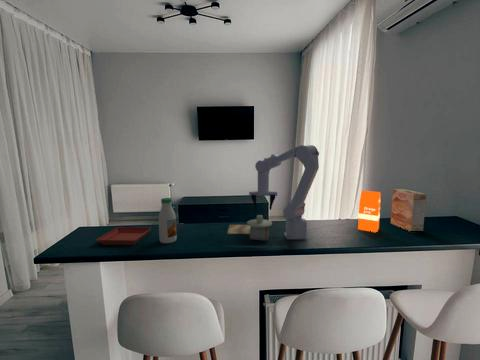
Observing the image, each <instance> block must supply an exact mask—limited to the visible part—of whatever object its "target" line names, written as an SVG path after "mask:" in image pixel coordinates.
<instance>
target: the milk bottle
mask: <svg viewBox="0 0 480 360" xmlns="http://www.w3.org/2000/svg"><path fill="white" fill-rule="evenodd" d="M172 201H173V200H172V198H171V197H164V198H161V200H160V204H161V208H160V211H159V214H158V237H159V242H160V243H161V244H172V243H174V242H176V241H177V237H178V235H177V218H176V213H175V211H174V210H175V209H174V208H173V206H172V203H173V202H172Z"/></svg>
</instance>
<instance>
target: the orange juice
mask: <svg viewBox="0 0 480 360" xmlns="http://www.w3.org/2000/svg"><path fill="white" fill-rule="evenodd" d="M359 198H360V199H359V204H358V218H357V219H358V220H357V221H358V224H357V230H360V231H366V232H370V231H371V233H376V232H377V233H378V232H379V229H380V217H381V191H372V190H371V191H370V190H361V193H360V196H359Z"/></svg>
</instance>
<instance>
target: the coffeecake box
mask: <svg viewBox="0 0 480 360" xmlns="http://www.w3.org/2000/svg"><path fill="white" fill-rule="evenodd" d="M391 199H392V201H391V212H390V224H392V225H394V226H396V227H398V228H400V227H401V229H403V230H405V229H406V230H405V231H407V230H408V232H410V231H423V232H424V225H425V224H424V222H425V214H426V213H425V212H426V201H427V193H423V192H419V191H414V190H411V189H406V188H392V198H391Z"/></svg>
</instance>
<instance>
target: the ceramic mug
mask: <svg viewBox="0 0 480 360" xmlns="http://www.w3.org/2000/svg"><path fill="white" fill-rule="evenodd" d="M269 236H270V226H269V227H252V226H251V227H250V234H249V240H254V241H255V240H256V241H268V239H269Z"/></svg>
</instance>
